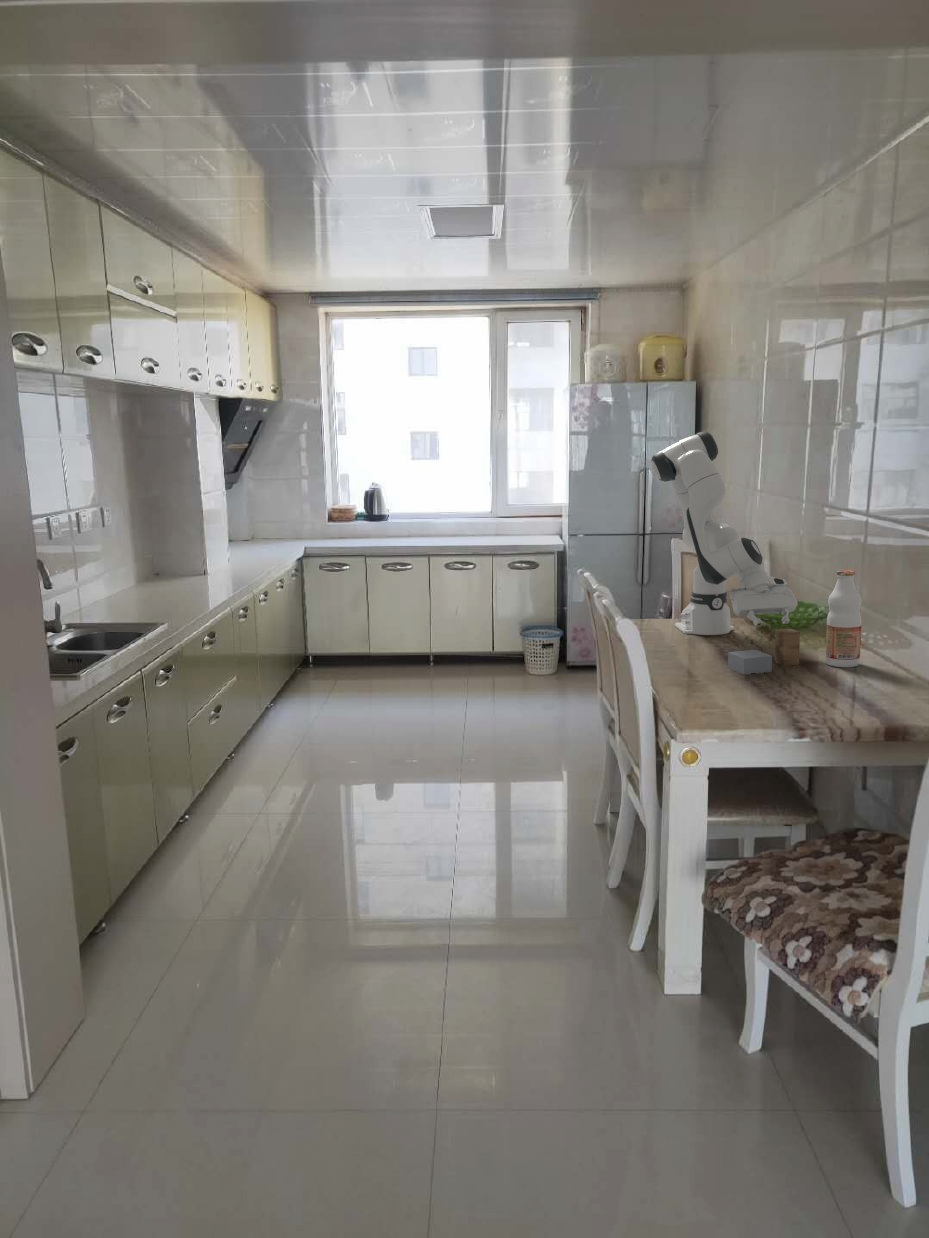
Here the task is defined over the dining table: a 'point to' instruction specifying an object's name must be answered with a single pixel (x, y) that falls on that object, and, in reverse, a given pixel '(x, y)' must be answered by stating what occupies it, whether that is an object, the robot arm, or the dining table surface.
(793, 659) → the walnut block
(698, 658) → the dining table surface
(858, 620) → the fruit juice
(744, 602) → the robot arm
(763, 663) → the slate grey base block
